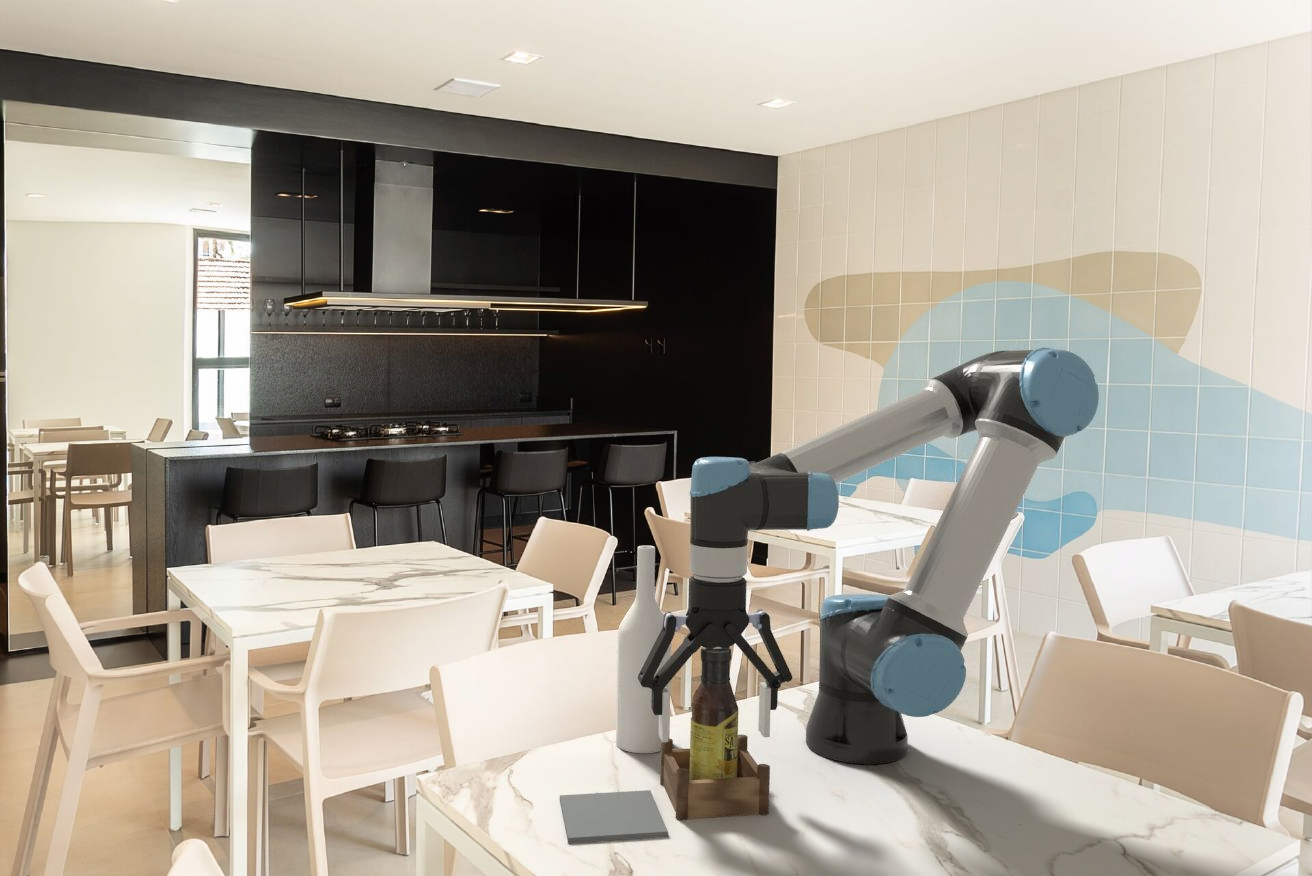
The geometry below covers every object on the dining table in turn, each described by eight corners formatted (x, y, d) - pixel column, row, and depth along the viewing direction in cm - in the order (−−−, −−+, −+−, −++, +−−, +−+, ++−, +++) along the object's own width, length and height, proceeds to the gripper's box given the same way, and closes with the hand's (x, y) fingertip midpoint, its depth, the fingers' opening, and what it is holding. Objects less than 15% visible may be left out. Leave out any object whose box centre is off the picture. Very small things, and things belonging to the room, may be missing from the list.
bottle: (675, 752, 144) (679, 550, 143) (621, 755, 142) (625, 552, 141) (662, 732, 152) (666, 541, 150) (611, 736, 150) (614, 542, 149)
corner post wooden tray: (744, 776, 136) (745, 734, 135) (770, 814, 124) (771, 768, 124) (659, 781, 134) (660, 738, 133) (677, 820, 122) (677, 773, 121)
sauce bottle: (733, 810, 125) (736, 657, 124) (685, 805, 126) (688, 654, 125) (739, 789, 131) (742, 644, 130) (693, 785, 133) (696, 640, 131)
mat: (650, 794, 129) (650, 790, 129) (667, 836, 118) (667, 831, 118) (559, 799, 127) (559, 795, 127) (567, 842, 115) (568, 837, 115)
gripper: (800, 569, 133) (795, 721, 134) (618, 571, 129) (616, 730, 130) (819, 580, 126) (814, 741, 127) (627, 583, 121) (624, 751, 122)
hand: (714, 736), depth 128 cm, fingers open, 13 cm apart
